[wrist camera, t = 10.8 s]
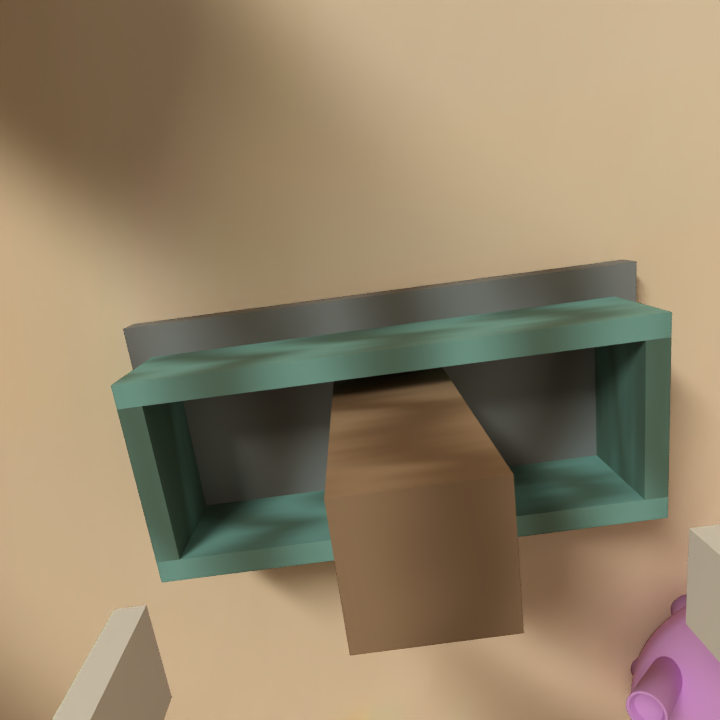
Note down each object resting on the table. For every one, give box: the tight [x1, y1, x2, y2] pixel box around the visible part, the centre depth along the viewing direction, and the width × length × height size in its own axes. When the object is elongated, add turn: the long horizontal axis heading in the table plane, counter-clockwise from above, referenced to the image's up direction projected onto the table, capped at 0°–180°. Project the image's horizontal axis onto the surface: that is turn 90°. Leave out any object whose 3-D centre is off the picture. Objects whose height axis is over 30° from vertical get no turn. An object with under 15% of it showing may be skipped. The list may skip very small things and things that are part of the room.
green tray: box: [111, 260, 672, 582], centre depth 25 cm, size 24×12×6 cm, turn 97°
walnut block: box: [324, 367, 524, 655], centre depth 20 cm, size 5×5×12 cm
